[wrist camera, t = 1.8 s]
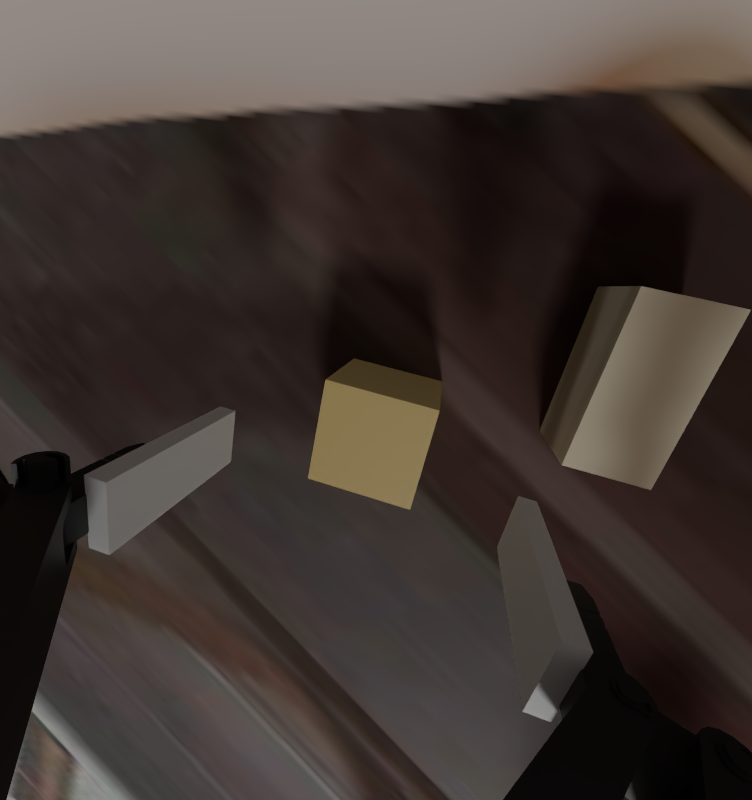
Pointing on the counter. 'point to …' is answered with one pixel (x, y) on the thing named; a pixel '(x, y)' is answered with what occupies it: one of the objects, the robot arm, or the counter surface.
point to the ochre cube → (375, 431)
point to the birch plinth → (636, 380)
